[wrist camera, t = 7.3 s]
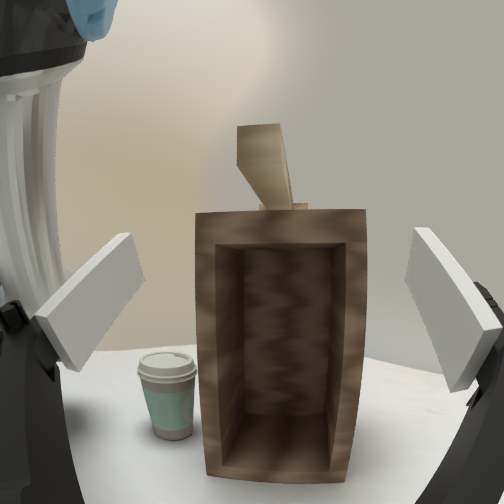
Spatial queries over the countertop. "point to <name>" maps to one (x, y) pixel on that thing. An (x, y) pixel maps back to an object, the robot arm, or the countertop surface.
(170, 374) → the coffee cup
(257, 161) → the beige long flat part
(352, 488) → the countertop surface
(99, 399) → the countertop surface
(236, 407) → the walnut shelf
